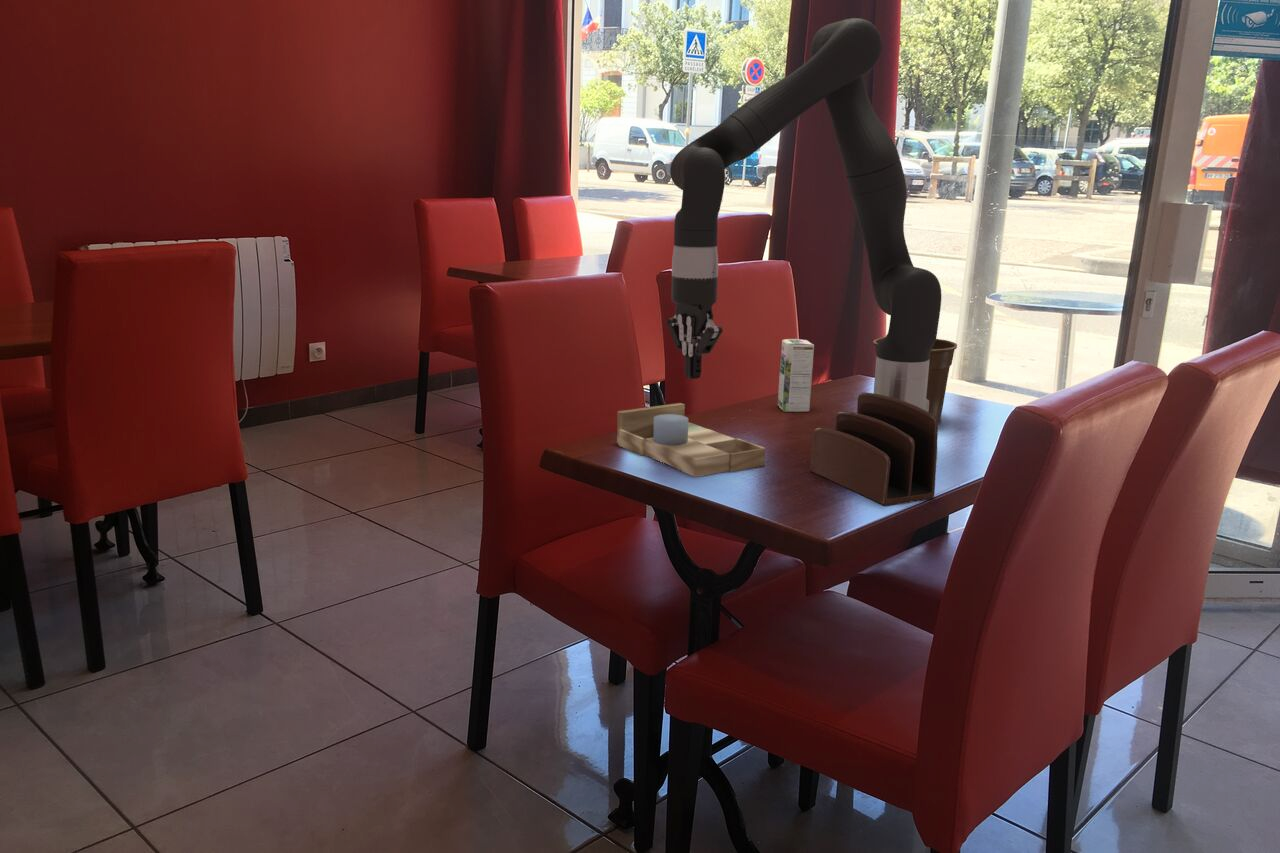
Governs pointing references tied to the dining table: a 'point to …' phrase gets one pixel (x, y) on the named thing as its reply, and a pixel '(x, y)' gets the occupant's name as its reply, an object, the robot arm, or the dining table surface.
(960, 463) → the dining table surface
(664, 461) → the tray
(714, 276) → the robot arm
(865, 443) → the letter holder
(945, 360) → the plant pot
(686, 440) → the grey rounded block
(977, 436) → the dining table surface
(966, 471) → the dining table surface
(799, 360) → the syrup box
